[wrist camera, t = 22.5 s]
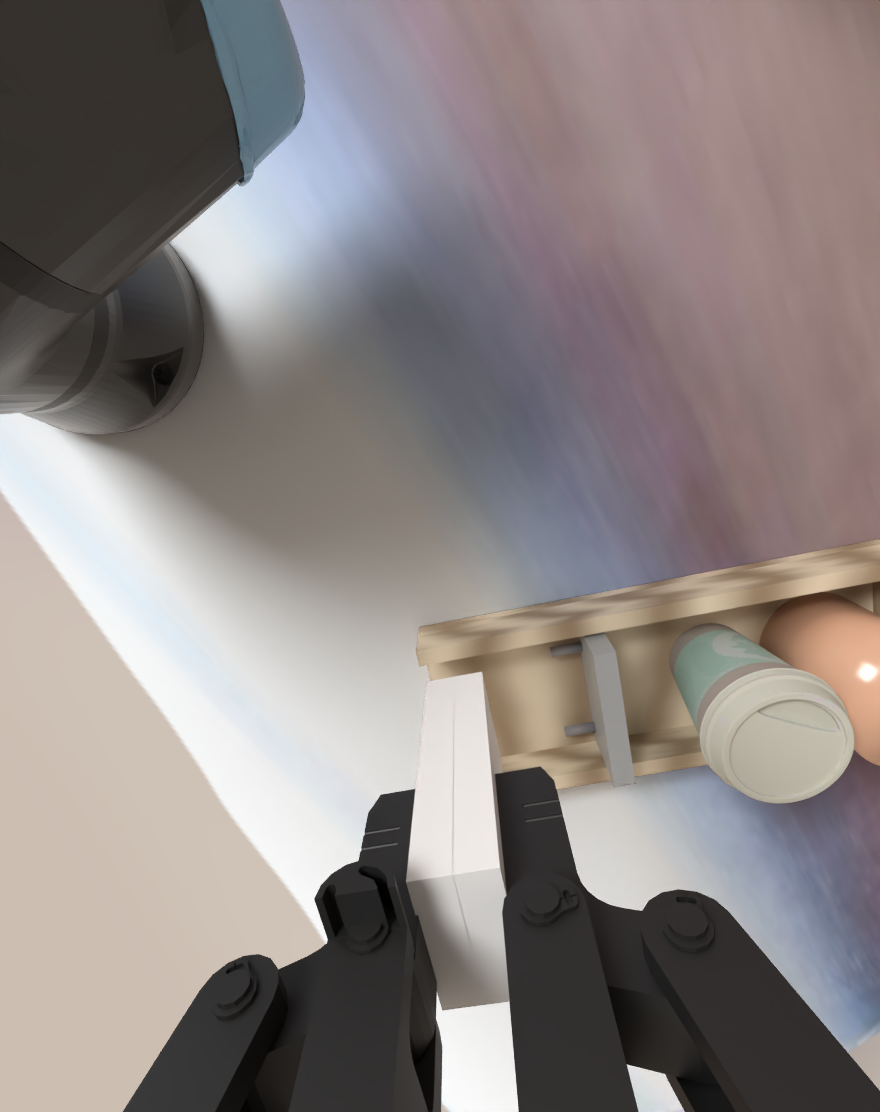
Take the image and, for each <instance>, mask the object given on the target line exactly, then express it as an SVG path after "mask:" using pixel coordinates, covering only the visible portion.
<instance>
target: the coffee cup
mask: <svg viewBox="0 0 880 1112" xmlns="http://www.w3.org/2000/svg"><path fill="white" fill-rule="evenodd" d="M669 665H670V669H671V672H672V675H673V677H674V679H675V682H676V684H677V686H678V688H679V691H680V693H681V695H682V698H683V700H684V702H685V704H686V707H687V709H688V711H689V713H690V716H691V718H692V720H693V722H694V725H695V727H696V729H697V731H698V734H699V736H700V746H701V751H702V754H703V756H704V759H705V760H706V762H707V764H708V765H709V767H710V768H711V769H712V770H713V771H714V772H715V773H716V774H717V775H718V776H719V777H720V778H721V779H722V780H723V781H724V782H725V783H727V784H728V785H730V786H731V787H733V788H735V789H737V790H739V791H740V792H742V793H743V794H745V795H747V796H749V797H751V798H753V799H756V800H759V801H762V802H768V803H792V802H797V801H801V800H804V799H807V798H810V797H812V796H815V795H817V794H819V793H820V792H822V791H824V790H825V789H827V788H828V787H829V786H831V785H832V784H833V783H834V782H835V781H836V780H837V779H838V778H839V777H840V776H841V775H842V774H843V772H844V771H845V769H846V768H847V766H848V764H849V762H850V760H851V757H852V754H853V750H854V741H855V740H854V731H853V728H852V724H851V722H850V720H849V717H848V714H847V711H846V708H845V706H844V704H843V702H842V701H841V699H840V698H839V697H838V695H837V694H836V692H835V691H834V690H833V689H832V688H831V687H830V686H829V685H828V684H827V683H826V682H825V681H823V680H822V679H820V678H819V677H817V676H815V675H813V674H811V673H808V672H805V671H802V670H798V669H796V668H794V667H792V666H791V665H789V664H788V663H786V662H784V661H783V660H781V659H780V658H778V657H777V656H775V655H773V654H772V653H770V652H769V651H767V650H765V649H764V648H762V647H761V646H759V645H757V644H756V643H754V642H753V641H751V640H750V639H748V638H746V637H745V636H743V635H741V634H740V633H738V632H737V631H735V630H733V629H732V628H730V627H728V626H725V625H722V624H717V623H706V624H701V625H698V626H695V627H693V628H691V629H689V630H687V631H686V632H684V633H683V634H682V635H681V636H680V637H679V638H678V639H677V640H676V642H675V643H674V645H673V647H672V649H671V652H670V657H669Z"/></svg>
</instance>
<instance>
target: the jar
mask: <svg viewBox="0 0 880 1112" xmlns="http://www.w3.org/2000/svg"><path fill="white" fill-rule="evenodd" d="M759 646H761V647H762V648H764V649H765V650H767V651H769V652H770V653H772V654H773V655H775V656H777V657H778V658H780V659H781V660H783V661H784V662H786V663H788V664H789V665H791V666H792V667H794V668H796V669H798V670H802V671H805V672H808V673H811V674H813V675H815V676H817V677H819V678H820V679H822V680H823V681H825V682H826V683H827V684H828V685H829V686H830V687H831V688H832V689H833V690H834V691H835V692H836V694H837V695H838V697H839V698H840V699H841V701H842V702H843V704H844V706H845V708H846V711H847V714H848V717H849V720H850V722H851V724H852V728H853V731H854V740H855V741H854V750H855V751H856V752H857V753H858V754H860V755H861V756H862V757H863V758H865V759H866V760H868V761H869V762H871V763H873V764H876V765H879V766H880V616H879V615H877V614H875V613H873V612H871V611H869V610H868V609H866V608H864V607H862V606H860V605H858V604H856V603H854V602H852V601H850V600H848V599H846V598H844V597H842V596H840V595H837V594H834V593H828V592H818V593H813V594H807V595H802V596H799V597H796V598H794V599H792V600H790V601H788V602H787V603H785V604H784V605H782V606H781V607H780V608H779V609H778V610H777V611H776V612H775V613H774V614H773V615H772V616H771V617H770V619H769V620H768V621H767V623H766V625H765V627H764V629H763V631H762V634H761V637H760V642H759Z"/></svg>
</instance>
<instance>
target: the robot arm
mask: <svg viewBox="0 0 880 1112" xmlns="http://www.w3.org/2000/svg"><path fill="white" fill-rule="evenodd" d="M304 83H305V81H304V74H303V69H302V65H301V61H300V57H299V53H298V50H297V46H296V43H295V40H294V37H293V34H292V32H291V29H290V26H289V23H288V20H287V18H286V15H285V12H284V9H283V7H282V4H281V2H280V0H0V414H10V413H21V414H24V415H26V416H29V417H31V418H34V419H37V420H39V421H42V422H45V423H47V424H49V425H52V426H54V427H57V428H60V429H63V430H67V431H72V432H77V433H84V434H110V433H118V432H126V431H131V430H136V429H139V428H142V427H145V426H147V425H150V424H152V423H154V422H156V421H157V420H159V419H161V418H162V417H164V416H165V415H166V414H168V413H169V412H170V411H171V410H172V409H173V408H174V407H175V406H176V405H177V404H178V403H179V402H180V401H181V400H182V399H183V397H184V396H185V394H186V393H187V391H188V390H189V388H190V386H191V384H192V382H193V380H194V378H195V376H196V373H197V371H198V367H199V364H200V360H201V355H202V349H203V319H202V312H201V307H200V303H199V299H198V295H197V292H196V289H195V287H194V284H193V282H192V279H191V277H190V275H189V273H188V271H187V269H186V267H185V266H184V264H183V262H182V261H181V259H180V258H179V256H178V255H177V253H176V252H175V251H174V249H173V248H172V247H171V246H170V244H169V242H170V241H171V240H173V239H174V238H175V237H176V236H177V235H178V234H179V233H181V232H182V231H183V230H184V229H185V228H186V227H188V226H189V225H190V224H191V223H192V222H193V221H194V220H196V219H197V218H198V217H199V216H200V215H201V214H202V213H204V212H205V211H206V210H207V209H208V208H209V207H210V206H212V205H213V204H214V203H215V202H216V201H217V200H219V199H220V198H221V197H222V196H223V195H224V194H225V193H227V192H228V191H229V190H230V189H231V188H232V187H233V186H235V185H236V184H238V185H239V186H244V185H246V184H247V183H248V182H249V181H250V179H251V178H252V175H253V172H254V168H255V167H257V166H258V165H259V164H260V163H261V162H262V161H263V160H264V159H265V158H266V157H267V156H268V155H269V154H270V153H271V152H272V151H273V150H274V149H275V148H276V147H277V146H278V145H279V144H280V143H281V142H283V141H284V140H285V139H286V138H287V137H288V136H289V135H290V134H291V133H292V132H293V130H294V129H295V128H296V126H297V124H298V123H299V121H300V119H301V116H302V111H303V106H304V100H305V89H304ZM361 848H362V851H361V852H360V857H359V861H358V862H354V863H351V864H348V865H345V866H344V867H342V868H341V869H339V870H337V871H336V872H334V873H333V874H331V875H330V876H329V878H328V879H327V880H326V881H325V882H324V883H323V884H322V885H321V886H320V889H319V891H318V893H317V895H316V897H315V902H316V905H317V908H318V911H319V914H320V917H321V920H322V923H323V926H324V929H325V932H326V935H327V938H328V942H327V944H326V945H324V946H323V947H322V948H321V949H319V950H318V951H316V952H314V953H312V954H311V955H309V956H307V957H305V958H303V959H301V960H298V961H297V962H294V963H292V964H290V965H288V966H285V967H283V968H281V969H279V970H278V968H277V967H276V965H275V964H274V963H273V961H272V960H271V958H268V957H265V956H262V955H259V954H258V955H248V956H243V957H241V958H238V959H236V960H234V961H232V962H229V963H227V964H226V965H225V966H224V967H222V968H221V969H220V970H218V971H217V972H216V973H215V974H213V975H212V976H211V978H210V979H209V980H208V981H207V982H206V984H205V985H204V986H203V987H202V989H201V990H200V991H199V993H198V994H197V996H196V998H195V999H194V1001H193V1002H192V1004H191V1005H190V1007H189V1008H188V1010H187V1012H186V1013H185V1015H184V1016H183V1018H182V1020H181V1021H180V1023H179V1024H178V1026H177V1027H176V1029H175V1031H174V1032H173V1034H172V1035H171V1037H170V1038H169V1040H168V1042H167V1043H166V1045H165V1046H164V1048H163V1049H162V1051H161V1052H160V1054H159V1056H158V1057H157V1059H156V1060H155V1062H154V1063H153V1065H152V1067H151V1068H150V1070H149V1071H148V1073H147V1075H146V1076H145V1078H144V1079H143V1081H142V1082H141V1084H140V1086H139V1087H138V1089H137V1090H136V1092H135V1094H134V1095H133V1097H132V1098H131V1100H130V1101H129V1103H128V1104H127V1106H126V1108H125V1109H124V1111H123V1112H441V1085H442V1043H441V1037H440V1031H439V1028H438V1024H437V1021H436V996H437V993H438V997H439V1000H440V1004H441V1007H442V1010H449V1009H456V1008H463V1007H471V1006H478V1005H486V1004H493V1003H500V1002H508V1001H510V1012H511V1024H512V1036H513V1048H514V1060H515V1071H516V1083H517V1095H518V1107H519V1112H638V1108H637V1104H636V1100H635V1096H634V1092H633V1088H632V1084H631V1080H630V1076H629V1072H628V1068H627V1064H628V1065H632V1066H636V1067H640V1068H644V1069H648V1070H652V1071H656V1072H660V1073H664V1074H666V1077H667V1079H668V1081H669V1083H670V1085H671V1087H672V1088H673V1090H674V1092H675V1094H676V1096H677V1098H678V1100H679V1101H680V1103H681V1105H682V1107H683V1109H684V1111H685V1112H880V1091H879V1089H878V1088H877V1087H876V1086H875V1085H874V1084H873V1082H872V1081H871V1080H870V1079H869V1078H868V1076H867V1075H866V1074H865V1073H864V1072H863V1070H862V1069H861V1068H860V1067H859V1066H858V1064H857V1063H856V1062H855V1061H854V1060H853V1058H851V1056H850V1055H849V1054H848V1053H847V1051H846V1050H845V1049H844V1048H843V1047H842V1045H841V1044H840V1043H839V1042H838V1041H837V1040H836V1038H835V1037H834V1036H833V1035H832V1034H831V1032H830V1031H829V1030H828V1029H827V1028H826V1026H825V1025H824V1024H823V1023H822V1022H821V1021H820V1019H819V1018H818V1017H817V1016H816V1015H815V1013H814V1012H813V1011H812V1010H811V1009H810V1007H809V1006H808V1005H807V1004H806V1003H805V1002H804V1000H803V999H802V998H801V997H800V996H799V994H798V993H797V992H796V991H795V990H794V988H793V987H792V986H791V985H790V984H789V983H788V981H787V980H786V979H785V978H784V977H783V975H782V974H781V973H780V972H779V971H778V970H777V968H776V967H775V966H774V965H773V964H772V962H771V961H770V960H769V959H768V958H767V956H766V955H765V954H764V953H763V952H762V951H761V949H760V948H759V947H758V946H757V945H756V943H755V942H754V941H753V940H752V939H751V937H750V936H749V935H748V934H747V933H746V932H745V930H744V929H743V928H742V927H741V926H740V924H739V923H738V922H737V921H736V920H735V919H734V917H733V916H732V915H731V914H730V913H729V912H728V911H727V910H726V909H725V908H724V907H723V906H721V905H720V904H719V903H718V902H717V901H716V900H714V899H712V898H710V897H707V896H705V895H703V894H701V893H698V892H694V891H686V890H673V891H668V892H663V893H661V894H659V895H657V896H656V897H654V898H652V899H651V900H649V901H648V903H647V904H646V906H645V908H644V909H643V911H638V910H632V909H625V908H620V907H616V906H612V905H609V904H607V903H605V902H603V901H601V900H598V899H597V898H596V897H594V896H593V895H592V894H591V893H589V892H588V891H587V890H586V888H585V887H584V886H583V884H582V883H581V881H580V879H579V876H578V874H577V870H576V866H575V862H574V858H573V854H572V850H571V846H570V842H569V838H568V834H567V830H566V826H565V822H564V818H563V814H562V810H561V806H560V802H559V798H558V794H557V790H556V786H555V782H554V780H553V779H552V778H551V777H550V776H549V775H548V773H547V772H546V771H545V770H544V769H543V768H542V767H541V766H539V767H534V768H528V769H522V770H516V771H510V772H504V773H503V771H502V763H501V757H500V752H499V748H498V743H497V738H496V734H495V729H494V725H493V720H492V715H491V711H490V706H489V701H488V697H487V692H486V688H485V683H484V678H483V674H482V672H477V673H472V674H466V675H461V676H455V677H450V678H444V679H439V680H433V681H428V682H426V690H425V699H424V709H423V719H422V729H421V739H420V749H419V759H418V768H417V778H416V788H415V789H413V790H407V791H401V792H395V793H389V794H383V795H381V796H380V797H379V799H378V800H377V801H376V803H375V804H374V806H373V807H372V809H371V810H370V811H369V813H368V818H367V823H366V828H365V835H364V837H363V842H362V847H361Z"/></svg>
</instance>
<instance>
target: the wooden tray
mask: <svg viewBox="0 0 880 1112" xmlns="http://www.w3.org/2000/svg"><path fill="white" fill-rule="evenodd" d="M818 592H828V593H834V594H837V595H840V596H842V597H844V598H846V599H848V600H850V601H852V602H854V603H856V604H858V605H860V606H862V607H864V608H866V609H868V610H869V611H871V612H873V613H875V614H877V615H879V616H880V539H878V540H872V541H867V542H862V543H857V544H851V545H846V546H841V547H836V548H831V549H825V550H820V551H815V552H810V553H804V554H799V555H794V556H789V557H783V558H778V559H773V560H768V561H762V562H757V563H752V564H747V565H742V566H736V567H731V568H726V569H721V570H715V571H710V572H705V573H700V574H694V575H689V576H684V577H679V578H673V579H668V580H663V581H658V582H652V583H647V584H642V585H637V586H632V587H626V588H621V589H616V590H611V591H605V592H600V593H595V594H590V595H584V596H579V597H574V598H569V599H563V600H558V601H553V602H548V603H543V604H537V605H532V606H527V607H522V608H516V609H511V610H506V611H501V612H495V613H490V614H485V615H480V616H474V617H469V618H464V619H459V620H454V621H448V622H443V623H438V624H433V625H427V626H422V627H420V628H419V635H418V641H417V648H416V654H417V658H418V662H419V666H424V665H427V667H428V671H429V675H430V680H431V681H433V680H439V679H444V678H450V677H455V676H461V675H466V674H472V673H477V672H482V674H483V678H484V683H485V688H486V692H487V697H488V701H489V706H490V711H491V715H492V720H493V725H494V729H495V734H496V738H497V743H498V748H499V752H500V757H501V763H502V771H503V773H504V772H510V771H516V770H522V769H528V768H534V767H539V766H541V767H542V768H543V769H544V770H545V771H546V772H547V773H548V775H549V776H550V777H551V778H552V779H553V780H554V782H555V786H556V790H557V789H563V788H569V787H576V786H582V785H588V784H594V783H600V782H606V781H612V780H611V778H610V775H609V772H608V770H607V767H606V765H605V762H604V760H603V757H602V755H601V752H600V750H599V747H598V745H597V742H596V740H595V735H594V732H592V733H586V734H580V735H574V736H568V737H566V735H565V731H564V726H570V725H575V724H581V723H587V722H592V717H591V711H590V705H589V699H588V693H587V686H586V680H585V674H584V668H583V662H582V656H581V652H578V653H573V654H567V655H562V656H556V657H551V653H550V648H549V647H551V646H557V645H562V644H568V643H573V642H578V641H579V638H578V637H581V636H586V635H592V634H597V633H602V632H604V633H605V634H606V636H607V638H608V639H609V641H610V643H611V644H612V646H613V648H614V649H615V651H616V656H617V662H618V669H619V676H620V683H621V689H622V696H623V703H624V710H625V717H626V723H627V730H628V737H629V744H630V750H631V757H632V764H633V771H634V777H636V776H642V775H649V774H655V773H661V772H667V771H673V770H679V769H685V768H691V767H697V766H703V765H708V764H707V762H706V760H705V759H704V756H703V754H702V751H701V746H700V736H699V734H698V731H697V729H696V727H695V725H694V722H693V720H692V718H691V716H690V713H689V711H688V709H687V707H686V704H685V702H684V700H683V698H682V695H681V693H680V691H679V688H678V686H677V684H676V682H675V679H674V677H673V675H672V672H671V669H670V665H669V657H670V652H671V649H672V647H673V645H674V643H675V642H676V640H677V639H678V638H679V637H680V636H681V635H682V634H683V633H684V632H686V631H687V630H689V629H691V628H693V627H695V626H698V625H701V624H706V623H717V624H722V625H725V626H728V627H730V628H732V629H733V630H735V631H737V632H738V633H740V634H741V635H743V636H745V637H746V638H748V639H750V640H751V641H753V642H754V643H756V644H757V645H759V642H760V637H761V634H762V631H763V629H764V627H765V625H766V623H767V621H768V620H769V619H770V617H771V616H772V615H773V614H774V613H775V612H776V611H777V610H778V609H779V608H780V607H781V606H782V605H784V604H785V603H787V602H788V601H790V600H792V599H794V598H796V597H799V596H802V595H807V594H813V593H818Z"/></svg>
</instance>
